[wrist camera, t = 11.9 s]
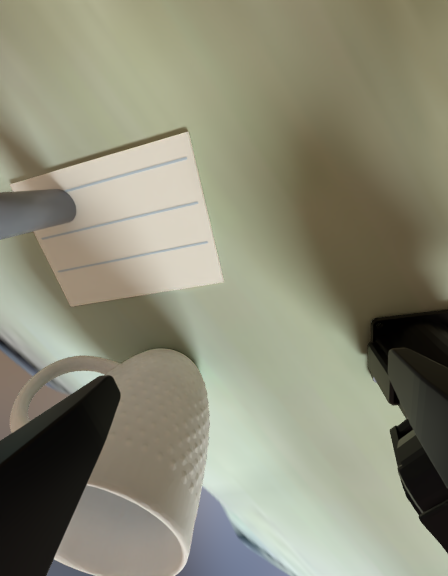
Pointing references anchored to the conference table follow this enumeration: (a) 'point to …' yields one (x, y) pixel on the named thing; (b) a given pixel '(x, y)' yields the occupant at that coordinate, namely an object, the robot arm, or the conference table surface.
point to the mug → (137, 466)
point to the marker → (34, 211)
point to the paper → (131, 224)
